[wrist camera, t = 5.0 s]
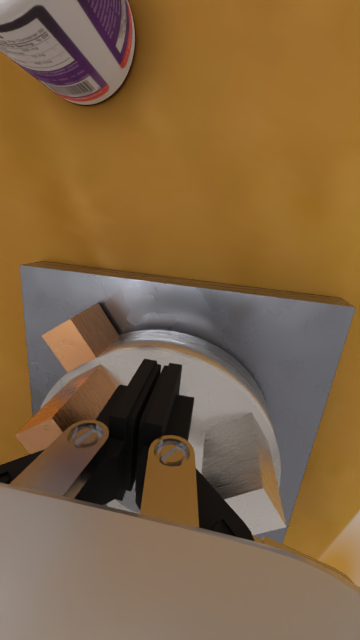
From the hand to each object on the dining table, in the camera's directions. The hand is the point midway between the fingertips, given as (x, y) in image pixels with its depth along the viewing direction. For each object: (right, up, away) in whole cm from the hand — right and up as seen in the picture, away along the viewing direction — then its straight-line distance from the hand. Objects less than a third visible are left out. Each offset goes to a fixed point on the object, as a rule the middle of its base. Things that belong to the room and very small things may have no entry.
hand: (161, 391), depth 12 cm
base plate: (0, -3, +8) cm, 8 cm away
